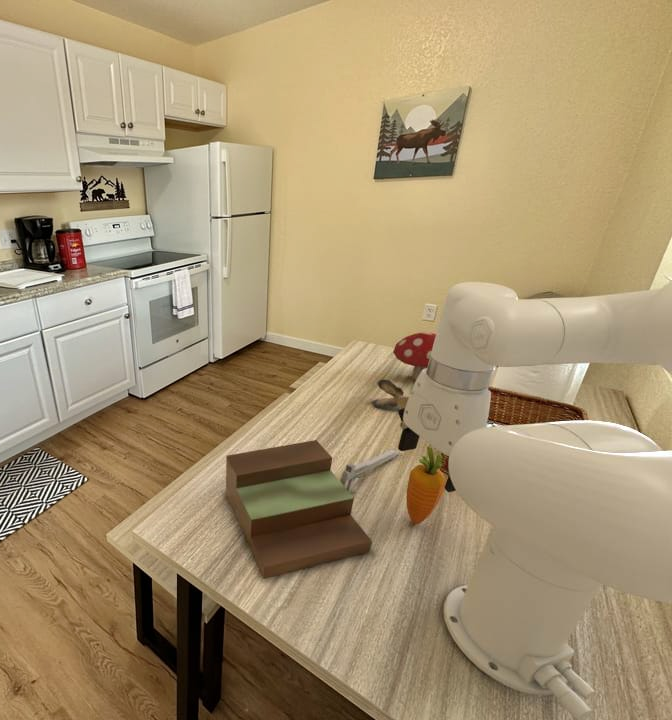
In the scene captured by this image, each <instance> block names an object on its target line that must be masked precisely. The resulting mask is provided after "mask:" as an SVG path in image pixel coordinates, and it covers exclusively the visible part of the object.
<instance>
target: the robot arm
mask: <svg viewBox="0 0 672 720" xmlns="http://www.w3.org/2000/svg"><path fill="white" fill-rule="evenodd" d="M435 334H436V337H435V341H434V344H433V348H432V351H429V352H428V353H427V358H428V359H430V360H429V363H428V367H427V368H426V369H423V370H422V371H421V373H420V375H419V376H418V378H417V380H415V382H414V383H413V386H412V387H411V390H410V396H406V395H403V396H401V397H398V406H397V407H398V412H397V414H398V416H399V419H400V423H399V427H400V428H401V429H402V430H401V434H400V438H399V441H398V446H397V450H398V451H399V452H407V451H410V450H416V449H417V446H418V442H419V439H420V438H421V439H422V440H424V441H425V442H427V443H428V444H429V445H430V446H431V447H432V448H435V449H436V450H437V451H438V452H440V453H442V454H443V455H444V456H447V457H448V464H447V467H448V476H447V479H446V484H445V488H444V490H445V491H446V492H447V493H452V492H457V495H458V496H459V497H460V499H461V500H462V501H463V502H464V503H465V505H466V506H467V507H468V508H469V509H470V510H471V511H472V512H473V513H475V514H476V515H477V516H478V517H480V519H482V520H483V521H485V522H486V523H488V524H490V525H491V528H490V530H489V533H488V535H487V538H486V540H485V543H484V545H483V548H482V550H481V553H480V555H479V558H478V560H477V562H476V565H475V567H474V570H473V572H472V575H471V577H470V579H469V582H468V584H465V585H461V586H458V587H454V589H452V590H451V591H450V592H449V593H448V595H447V596H446V599H445V601H444V603H443V611H442V613H443V618H444V623H445V626H446V628H447V630H448V633H449V634H450V636H451V638H452V640H453V641H454V642H455V644H456V645H457V647H458V648H459V649H460V650H461V652H462V653H463V654H464V656H466V657H467V658H468V660H470V661H471V662H472V663H473V664H474V665H475V666H476V667H477V668H478V669H480V670H481V671H482V672H484V674H486V675H488V676H489V677H490V678H492V679H494V680H495V681H497V682H499V683H500V684H502V685H504V686H506V687H508V688H510V689H513V690H515V691H517V692H521V693H524V694H527V695H532V696H541V697H543V696H551V695H553V696H554V697H555V698H556V699H557V700H558V703H559V704H561V706H562V707H563V708H564V709H565V710H566V711H567V712H568V714H569V715H570V716H572V718H573V719H574V720H587V719H588V718H590V717H591V716H592V714H593V713H594V711H593V709H592V708H591V707H590V706H589V705H588V704H587V703H586V702H585V701H584V700H589V699H591V698H592V697H594V696H595V695H596V693H597V692H596V691H595V689H593V688H592V687H591V686H590V685H589V683H587V682H586V681H585V680H584V679H583V678H581V677H580V676H579V675H578V674H577V673H576V672H575V671H574V670H573V665H572V664H571V663H570V661H571V659H572V658H573V657H574V655H575V650H574V649H573V648H572V647H571V646H570V645H569V644H568V643H567V642H568V640H569V638H570V637H571V636H572V634H573V632H574V630H575V628H576V627H577V626H578V624H579V622H580V621H581V619H582V618H583V616H584V614H585V613H586V611H587V609H588V608H589V606H590V604H591V603H592V602H593V599H594V598H595V597H596V594H597V593H598V591H599V590H600V589H601V587H602V586H606V587H608V588H611V589H613V590H616V591H619V592H622V593H624V594H628V595H631V596H634V597H638V598H642V599H646V600H649V601H650V600H651V601H653V602H654V601H655V602H659V603H660V602H661V603H665V604H672V450H663V449H662V448H661V446H659V445H658V444H657V443H656V442H655V441H653V440H652V439H651V438H650V437H648V436H646V435H644V434H643V433H641V432H639V431H637V430H636V429H633V428H630V427H627V426H624V425H621V424H617V423H612V422H606V421H599V420H564V421H548V422H535V423H526V424H525V423H524V424H506V425H495V426H494V425H493V426H487V423H488V419H489V415H490V414H489V413H490V407H491V406H490V405H491V399H492V398H491V397H492V396H491V395H492V392H491V390H489V386H490V384H491V381H492V378H493V375H494V372H495V369H496V368H497V367H498V368H515V367H516V368H517V367H535V366H549V365H570V364H571V365H572V364H573V365H574V364H575V365H576V364H616V365H617V364H618V365H643V366H660V367H661V368H663V369H664V370H665V371H666V372H667V373H669V374H671V375H672V279H671V280H670V281H668V282H667V283H666V284H664V285H663V287H661V288H656V289H647V290H640V291H632V292H621V293H614V294H612V293H611V294H602V295H591V296H577V297H576V296H575V297H546V298H521V299H520V298H519V297H518V294H517V292H516V291H515V290H514V289H512V288H510V287H508V286H506V285H502V284H499V283H491V282H484V281H466V282H459V283H456V284H454V285H453V286H451V287H450V289H448V291H447V293H446V297H445V300H444V303H443V307H442V310H441V315H440V319H439V321H438V326H437V330H436V333H435ZM567 682H568V683H569V684H570V685H571V687H572V688H573V689H574V690H575V691H576V692H577V693H578V694H579V695H580V696H581V697H582V698H583V699H584V700H583V699H582V698H581V697H580V696H579V695H578V694H577V693H576V692H575V691H574V690H572V689H571V688H570V687H569V686H568V685H567Z"/></svg>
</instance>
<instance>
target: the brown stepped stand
mask: <svg viewBox="0 0 672 720" xmlns="http://www.w3.org/2000/svg"><path fill="white" fill-rule="evenodd" d="M225 462H226V463H225V495H226V498H227V500H228V502H229V504H230V506H231V509H232V511H233V514H234V515H235V518H236V521H237V522H238V524H239V527H240V529H241V531H242V534H243V536H244V538H245V540H246V542H247V545H248V547H249V549H250V552H251V554H252V556H253V558H254V560H255V563H256V565H257V567H258V569H259V572H260V574H261V576H262V578H263V579H267V578H271V577H276V576H279V575H284V574H288V573H292V572H297V571H299V570H304V569H308V568H312V567H315V566H319V565H324V564H327V563H333V562H337V561H341V560H344V559H348V558H352V557H356V556H360V555H365V554H368V553H370V552H371V548H372V543H373V541H372V539H371V538H370V537H369V535H368V534H367V533H366V532H365V529H363V527H361V525H360V524H359V523H358V522H357V520H356V519H355V518H354V516H353V515H352V510H353V505H354V500H355V497H354V496H353V494H352V493H351V491H348V490H347V489H346V488H345V486H344V485H343V484H342V483H341V482H340V479H339V478H338V477H337V476H336V475H335V474H334V472H333V471H332V470H331V468H332V463H333V457H332V456H331V454H330V453H329V452H328V451H327V450H326V449H325V448H324V447H323V446H322V444H320V442H319V441H318V440H317V439H314V440H308V441H307V440H306V441H302V442H296V443H291V444H285V445H280V446H274V447H268V448H261V449H257V450H250V451H245V452H239V453H234V454H233V453H232V454H228V455H226V461H225Z"/></svg>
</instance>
